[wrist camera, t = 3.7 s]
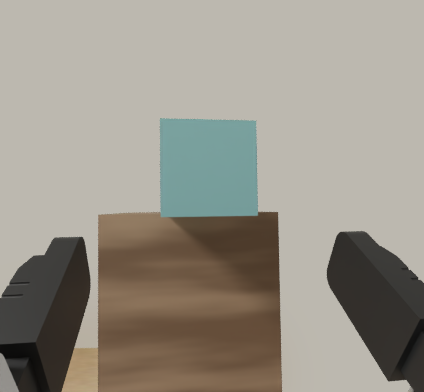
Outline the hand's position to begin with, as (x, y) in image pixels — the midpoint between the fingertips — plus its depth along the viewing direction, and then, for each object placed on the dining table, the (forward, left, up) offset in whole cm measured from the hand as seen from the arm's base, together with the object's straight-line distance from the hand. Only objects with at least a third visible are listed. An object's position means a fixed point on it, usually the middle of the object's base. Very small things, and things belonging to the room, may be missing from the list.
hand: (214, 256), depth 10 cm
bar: (-10, +10, +1) cm, 14 cm away
